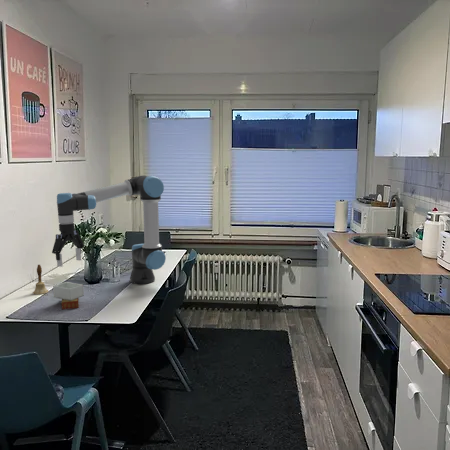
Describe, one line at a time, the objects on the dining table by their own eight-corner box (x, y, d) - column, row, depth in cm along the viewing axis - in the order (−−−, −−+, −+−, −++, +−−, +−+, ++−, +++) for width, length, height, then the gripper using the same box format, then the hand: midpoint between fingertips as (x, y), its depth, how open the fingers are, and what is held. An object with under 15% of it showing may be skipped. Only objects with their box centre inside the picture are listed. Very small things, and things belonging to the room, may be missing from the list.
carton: (61, 310, 227) (61, 302, 227) (62, 300, 242) (61, 293, 242) (79, 308, 230) (78, 300, 229) (78, 299, 245) (78, 291, 244)
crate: (66, 292, 242) (66, 281, 241) (83, 295, 237) (83, 284, 236) (53, 297, 234) (53, 286, 233) (70, 300, 229) (70, 289, 228)
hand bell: (30, 292, 256) (28, 264, 254) (45, 289, 262) (43, 262, 259) (35, 295, 250) (33, 267, 248) (50, 292, 255) (49, 265, 253)
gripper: (78, 219, 247) (80, 257, 250) (42, 226, 225) (45, 268, 228) (88, 219, 244) (91, 258, 247) (53, 227, 221) (57, 269, 225)
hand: (69, 263), depth 238 cm, fingers open, 13 cm apart
